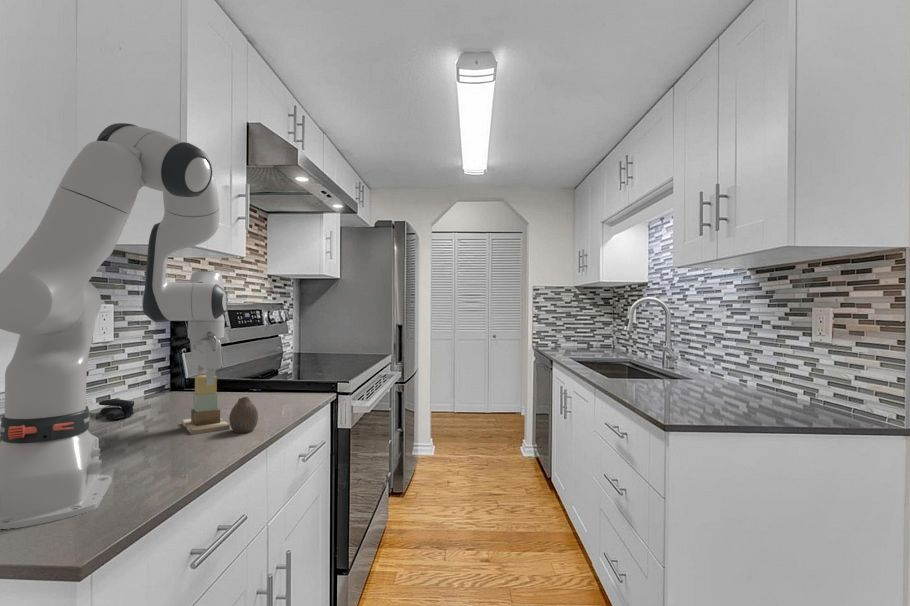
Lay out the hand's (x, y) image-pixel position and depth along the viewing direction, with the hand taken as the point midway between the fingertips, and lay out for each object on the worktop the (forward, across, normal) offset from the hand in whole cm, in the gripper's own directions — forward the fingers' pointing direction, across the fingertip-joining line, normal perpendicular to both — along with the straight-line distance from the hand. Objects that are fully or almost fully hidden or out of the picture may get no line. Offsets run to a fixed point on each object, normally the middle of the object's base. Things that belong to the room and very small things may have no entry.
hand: (205, 382), depth 134 cm
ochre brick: (+3, 0, 0) cm, 3 cm away
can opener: (+12, +30, +19) cm, 38 cm away
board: (+12, 0, 0) cm, 12 cm away
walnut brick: (+11, 0, 0) cm, 11 cm away
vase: (+12, -11, -7) cm, 18 cm away
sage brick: (+7, 0, 0) cm, 7 cm away
